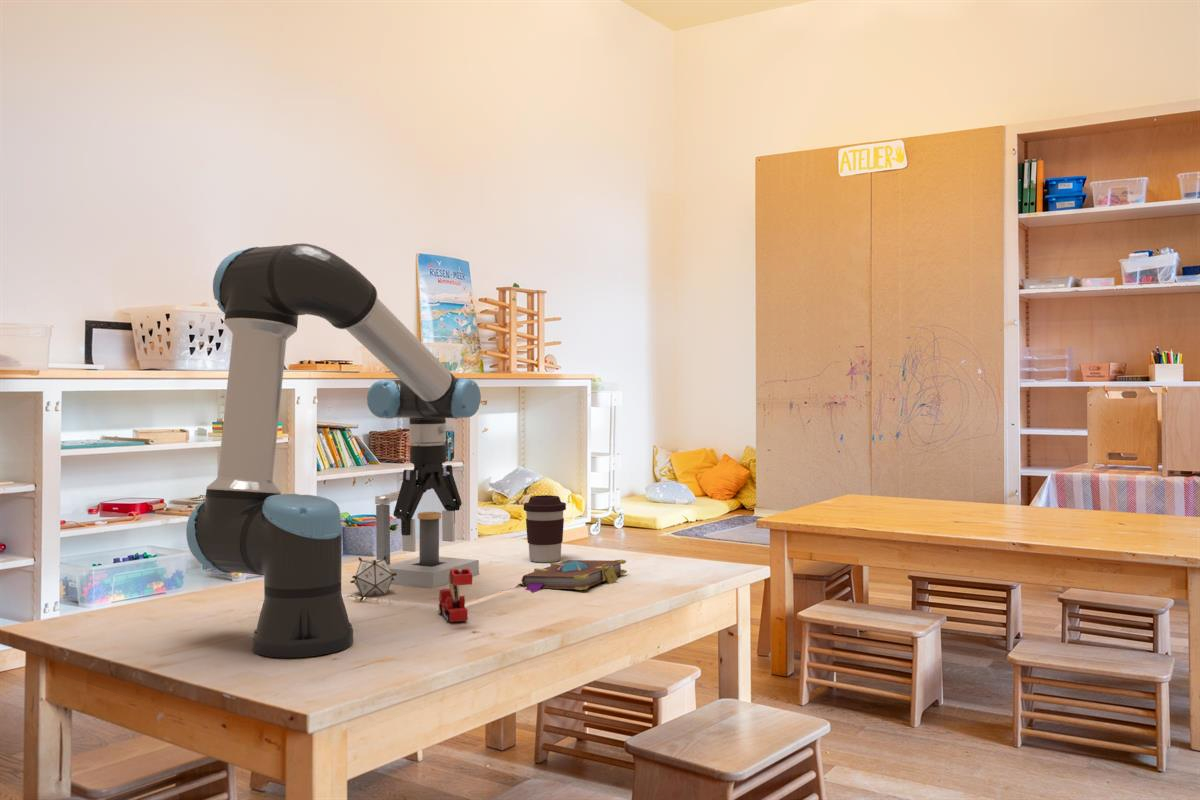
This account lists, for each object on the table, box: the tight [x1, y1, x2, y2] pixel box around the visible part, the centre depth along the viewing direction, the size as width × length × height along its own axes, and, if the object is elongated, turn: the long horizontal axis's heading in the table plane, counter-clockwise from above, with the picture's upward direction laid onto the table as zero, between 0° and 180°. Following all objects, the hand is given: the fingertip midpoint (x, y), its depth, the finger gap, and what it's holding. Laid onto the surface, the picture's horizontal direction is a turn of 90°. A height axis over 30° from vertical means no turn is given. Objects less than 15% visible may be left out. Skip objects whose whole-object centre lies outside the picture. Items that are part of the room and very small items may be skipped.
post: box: [375, 504, 391, 565], centre depth 212 cm, size 5×5×16 cm
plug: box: [417, 511, 442, 567], centre depth 206 cm, size 5×5×14 cm
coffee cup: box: [523, 494, 567, 563], centre depth 233 cm, size 10×10×15 cm
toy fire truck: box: [438, 568, 473, 623], centre depth 173 cm, size 3×14×10 cm, turn 21°
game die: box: [350, 556, 397, 602], centre depth 191 cm, size 9×8×10 cm
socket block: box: [388, 556, 480, 589], centre depth 206 cm, size 16×14×4 cm
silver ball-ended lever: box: [374, 490, 400, 505], centre depth 218 cm, size 3×16×2 cm, turn 170°
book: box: [521, 559, 628, 594], centre depth 205 cm, size 16×25×5 cm, turn 154°
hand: (429, 546), depth 206 cm, fingers open, 13 cm apart
